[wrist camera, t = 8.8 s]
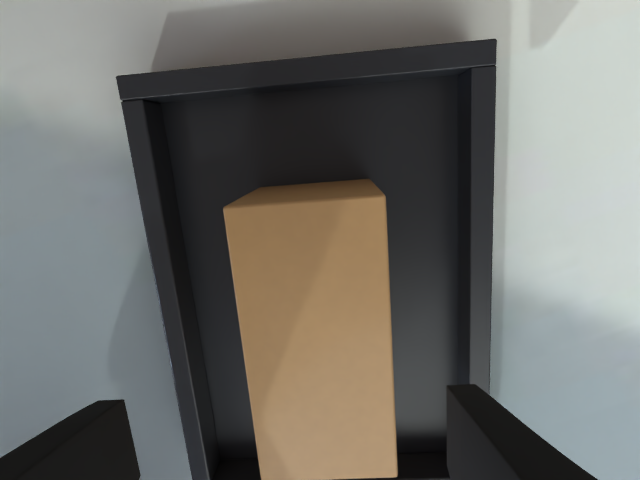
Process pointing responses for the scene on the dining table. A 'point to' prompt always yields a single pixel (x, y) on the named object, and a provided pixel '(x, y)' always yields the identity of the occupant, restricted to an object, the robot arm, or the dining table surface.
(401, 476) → the tray
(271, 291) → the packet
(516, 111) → the dining table surface
